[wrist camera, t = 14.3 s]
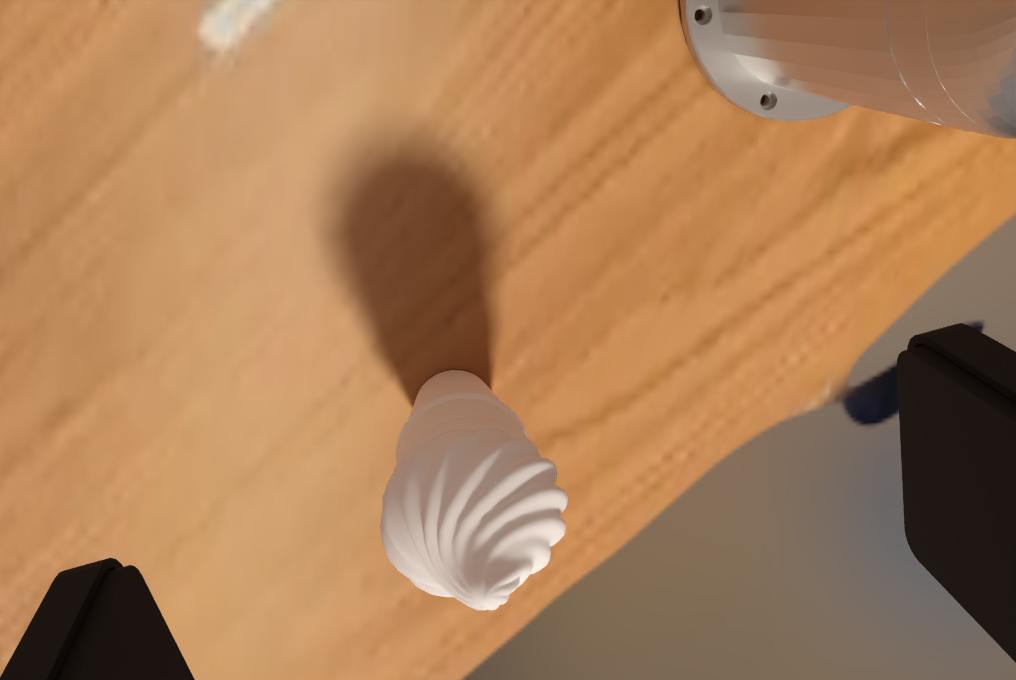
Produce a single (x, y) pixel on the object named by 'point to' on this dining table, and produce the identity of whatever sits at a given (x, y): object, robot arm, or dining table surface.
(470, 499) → the soft serve ice cream cone
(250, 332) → the dining table surface
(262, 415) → the dining table surface
